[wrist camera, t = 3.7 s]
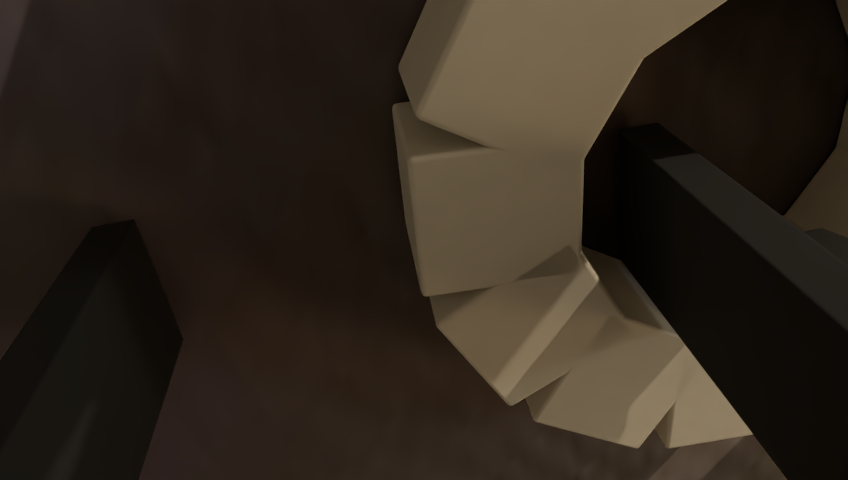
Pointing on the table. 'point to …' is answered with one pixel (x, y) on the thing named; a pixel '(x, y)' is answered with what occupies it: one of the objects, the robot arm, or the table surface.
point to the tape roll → (553, 212)
